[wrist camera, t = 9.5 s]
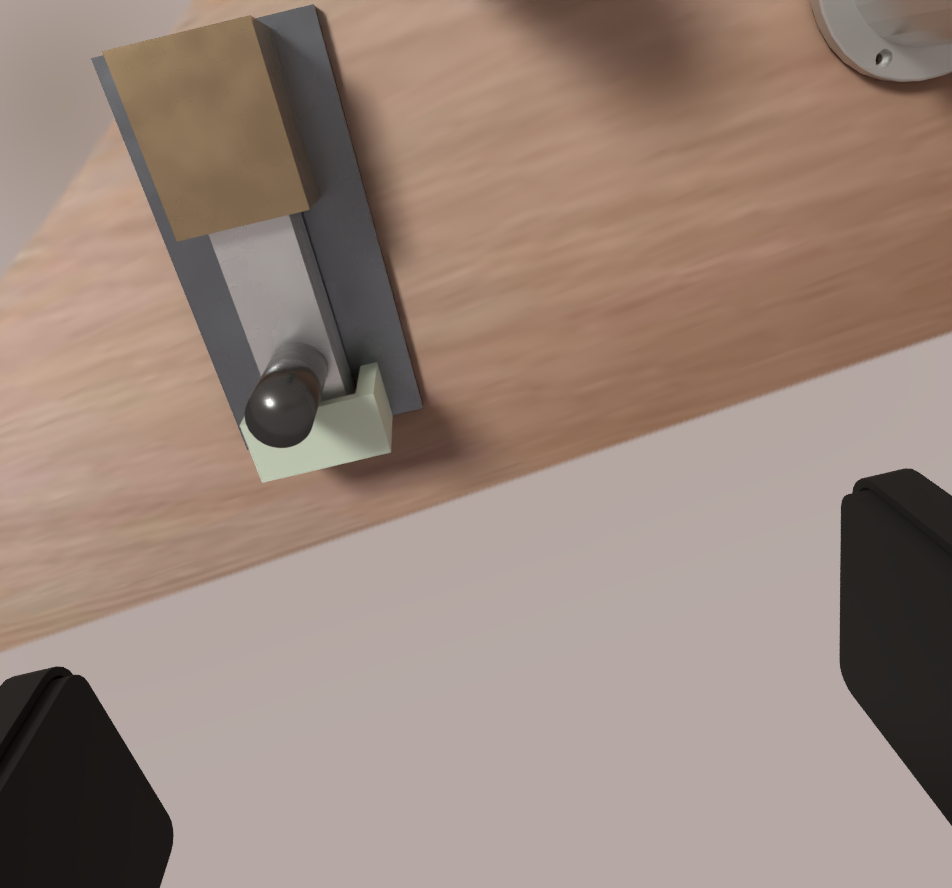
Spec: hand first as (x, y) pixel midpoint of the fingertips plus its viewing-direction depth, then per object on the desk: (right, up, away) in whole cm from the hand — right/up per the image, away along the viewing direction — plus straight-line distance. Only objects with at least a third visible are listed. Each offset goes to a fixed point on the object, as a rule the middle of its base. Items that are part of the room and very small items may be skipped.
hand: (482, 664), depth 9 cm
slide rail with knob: (-11, +13, +31) cm, 35 cm away
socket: (-9, +5, +35) cm, 36 cm away
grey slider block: (-10, +11, +32) cm, 35 cm away
